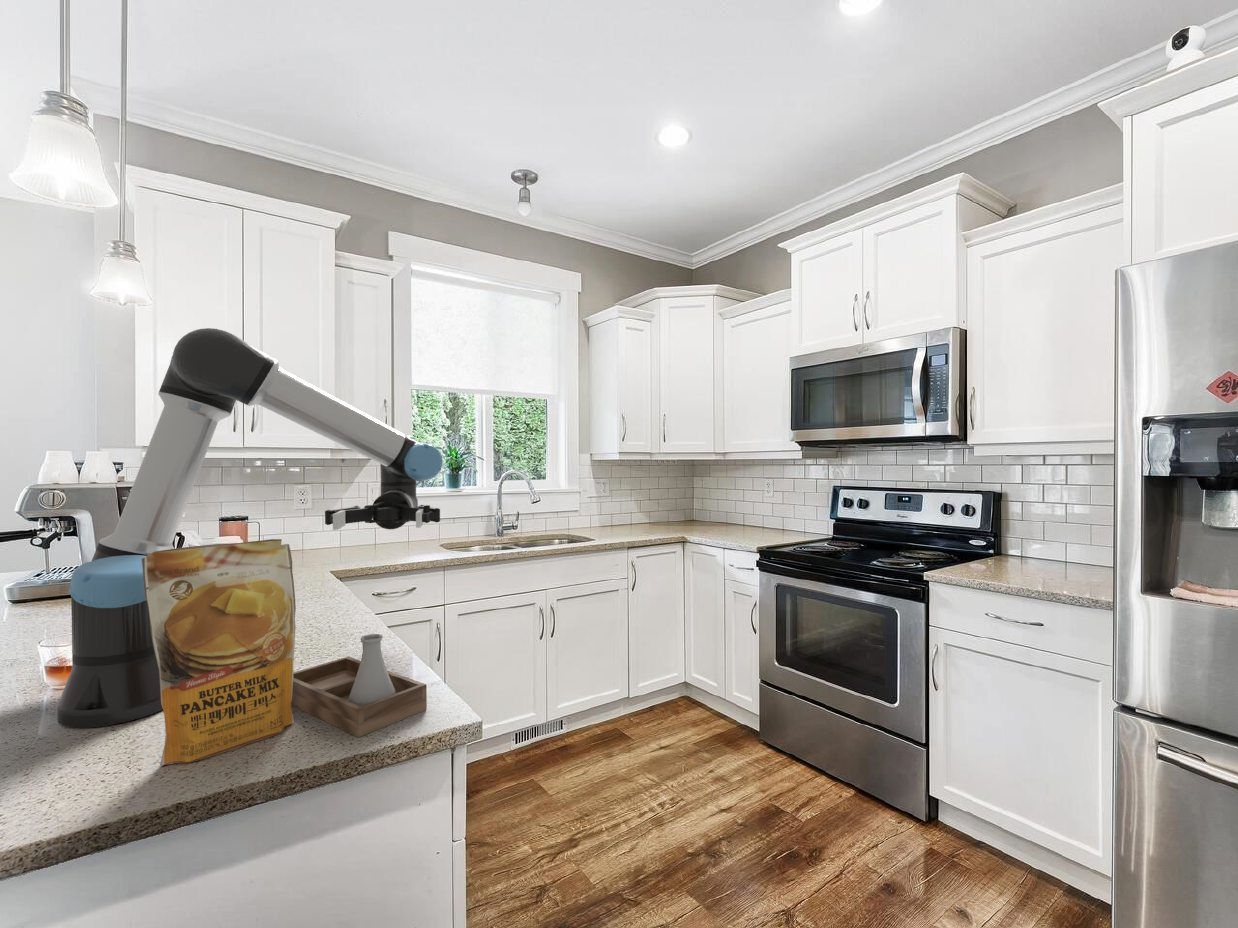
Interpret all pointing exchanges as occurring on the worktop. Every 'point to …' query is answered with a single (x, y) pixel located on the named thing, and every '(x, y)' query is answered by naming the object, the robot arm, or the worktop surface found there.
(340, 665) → the wooden tray
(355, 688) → the flask
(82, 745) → the worktop surface
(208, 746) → the pancake mix bag
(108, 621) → the robot arm
